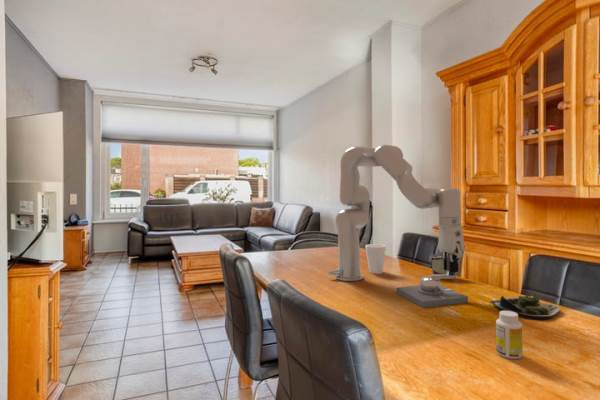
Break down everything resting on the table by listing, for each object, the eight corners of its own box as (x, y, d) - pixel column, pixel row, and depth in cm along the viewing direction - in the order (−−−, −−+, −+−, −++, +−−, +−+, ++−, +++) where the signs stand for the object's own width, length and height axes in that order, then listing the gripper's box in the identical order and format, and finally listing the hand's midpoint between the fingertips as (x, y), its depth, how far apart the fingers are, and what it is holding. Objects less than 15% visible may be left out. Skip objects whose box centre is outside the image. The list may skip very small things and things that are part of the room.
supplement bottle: (524, 353, 88) (524, 312, 87) (519, 362, 84) (519, 319, 83) (499, 347, 91) (499, 307, 91) (493, 355, 87) (492, 313, 87)
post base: (422, 307, 122) (422, 299, 122) (396, 292, 140) (396, 285, 140) (467, 302, 126) (467, 294, 126) (437, 288, 144) (437, 281, 144)
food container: (454, 275, 164) (454, 253, 164) (459, 278, 158) (458, 256, 157) (426, 275, 165) (426, 253, 165) (430, 278, 159) (430, 256, 159)
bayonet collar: (426, 293, 128) (425, 254, 128) (416, 286, 137) (415, 250, 137) (461, 291, 129) (461, 253, 128) (449, 284, 138) (448, 248, 138)
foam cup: (362, 271, 176) (361, 245, 175) (377, 269, 180) (377, 243, 179) (374, 275, 167) (373, 247, 167) (390, 273, 171) (389, 246, 171)
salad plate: (513, 297, 132) (513, 285, 131) (570, 310, 117) (570, 296, 117) (484, 308, 121) (484, 295, 121) (543, 324, 106) (543, 309, 106)
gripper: (472, 223, 125) (474, 275, 126) (446, 219, 141) (447, 265, 142) (453, 224, 124) (454, 276, 125) (428, 220, 140) (430, 267, 141)
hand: (450, 270), depth 133 cm, fingers closed on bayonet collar, 3 cm apart
